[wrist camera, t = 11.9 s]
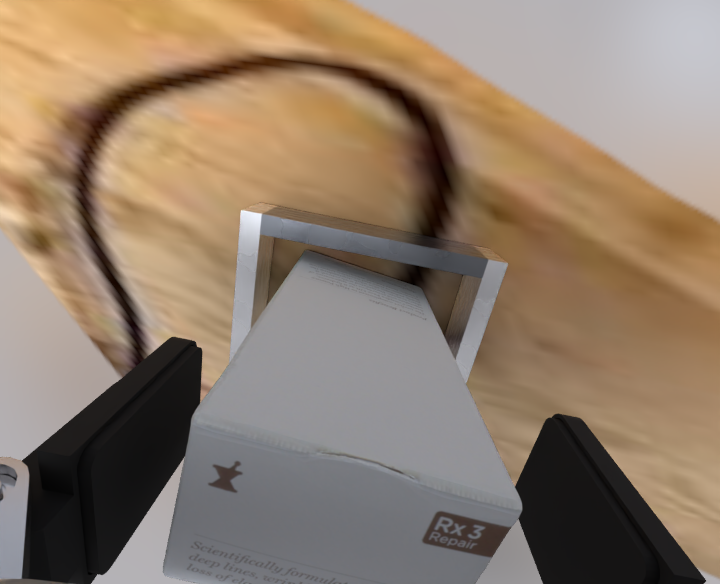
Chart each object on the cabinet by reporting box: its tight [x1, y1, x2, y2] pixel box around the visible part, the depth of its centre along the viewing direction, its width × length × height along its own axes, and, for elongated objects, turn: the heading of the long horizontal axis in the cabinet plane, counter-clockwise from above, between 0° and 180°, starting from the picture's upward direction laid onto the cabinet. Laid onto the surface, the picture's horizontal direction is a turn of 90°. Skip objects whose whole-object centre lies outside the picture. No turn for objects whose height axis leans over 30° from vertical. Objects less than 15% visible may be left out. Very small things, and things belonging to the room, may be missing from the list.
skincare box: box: [163, 250, 522, 584], centre depth 12 cm, size 6×4×12 cm
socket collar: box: [229, 202, 508, 383], centre depth 17 cm, size 11×7×2 cm
